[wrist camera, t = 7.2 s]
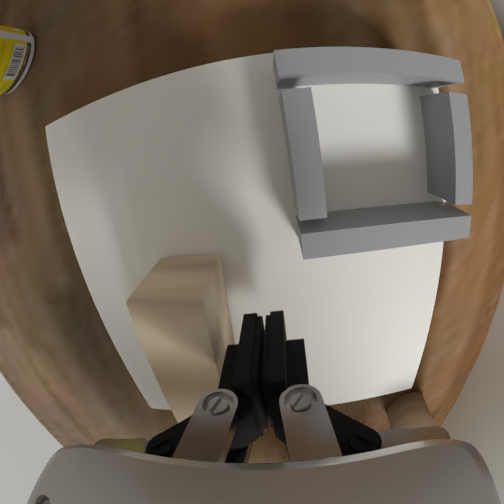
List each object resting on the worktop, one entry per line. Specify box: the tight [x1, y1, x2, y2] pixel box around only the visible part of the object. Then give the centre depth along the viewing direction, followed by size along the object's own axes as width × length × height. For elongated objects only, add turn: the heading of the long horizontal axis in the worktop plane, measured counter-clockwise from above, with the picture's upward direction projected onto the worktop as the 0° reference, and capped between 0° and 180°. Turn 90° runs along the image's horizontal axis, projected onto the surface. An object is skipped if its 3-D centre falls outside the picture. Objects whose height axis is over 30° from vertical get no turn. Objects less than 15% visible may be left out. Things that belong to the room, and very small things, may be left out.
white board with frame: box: [45, 47, 473, 410], centre depth 14 cm, size 21×20×6 cm
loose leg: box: [386, 392, 435, 430], centre depth 18 cm, size 4×4×9 cm
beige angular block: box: [126, 254, 235, 423], centre depth 14 cm, size 12×3×4 cm, turn 6°
